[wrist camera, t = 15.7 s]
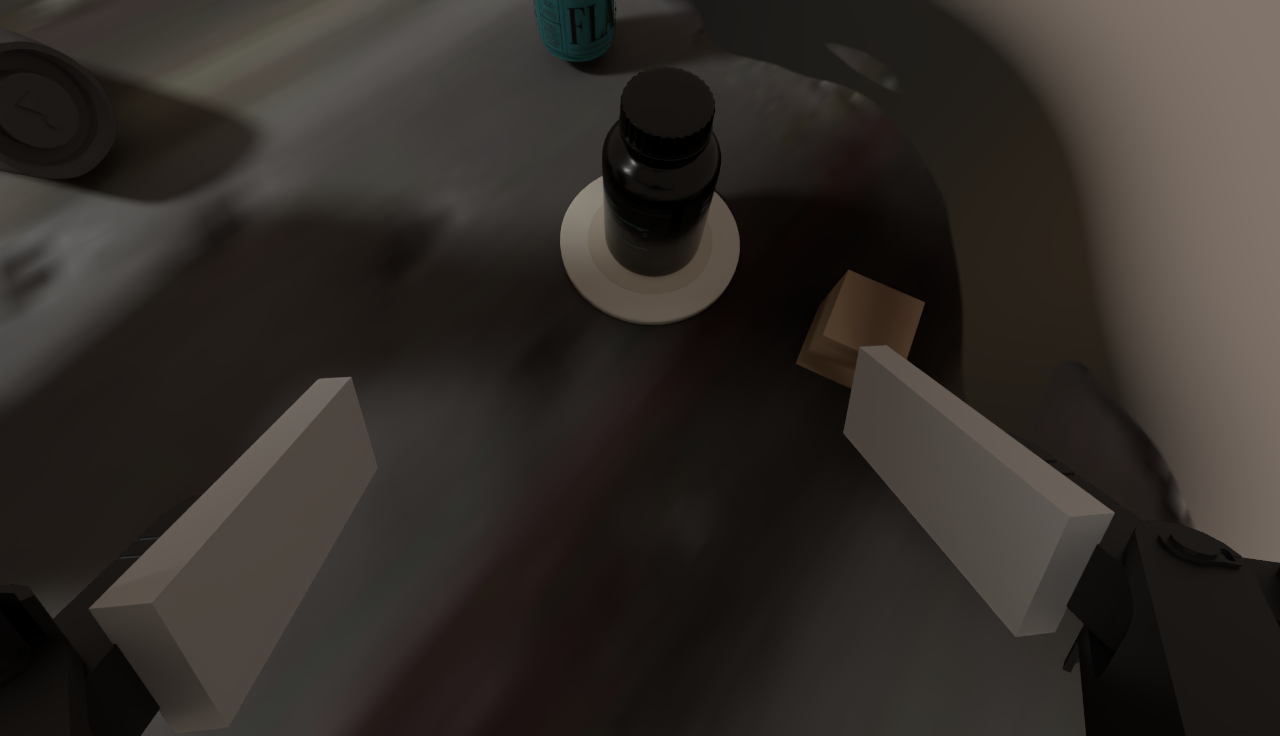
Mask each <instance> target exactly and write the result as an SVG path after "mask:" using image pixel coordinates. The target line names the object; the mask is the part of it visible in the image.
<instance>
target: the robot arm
mask: <svg viewBox="0 0 1280 736" xmlns="http://www.w3.org/2000/svg"><path fill="white" fill-rule="evenodd" d="M844 434H845V436H846V437H847V438H848V439H849V440H850V442H851V443H852V444H853V445H854V446H855V447H856V449H857V450H858V451H859V452H860V453H861V455H862V456H863V457H864V458H865V459H866V460H867V462H868V463H869V464H870V465H871V466H872V468H873V469H874V470H875V471H876V472H877V474H878V475H879V476H880V477H881V478H882V479H883V481H884V482H885V483H886V484H887V485H888V487H889V488H890V489H891V490H892V491H893V492H894V494H895V495H896V496H897V497H898V498H899V500H900V501H901V502H902V503H903V504H904V506H905V507H906V508H907V509H908V510H909V511H910V513H911V514H912V515H913V516H914V517H915V519H916V520H917V521H918V522H919V523H920V524H921V526H922V527H923V528H924V529H925V530H926V532H927V533H928V534H929V535H930V536H931V538H932V539H933V540H934V541H935V542H936V543H937V545H938V546H939V547H940V548H941V549H942V551H943V552H944V553H945V554H946V555H947V556H948V558H949V559H950V560H951V561H952V562H953V564H954V565H955V566H956V567H957V568H958V570H959V571H960V572H961V573H962V574H963V575H964V577H965V578H966V579H967V580H968V581H969V583H970V584H971V585H972V586H973V587H974V588H975V590H976V591H977V592H978V593H979V594H980V596H981V597H982V598H983V599H984V600H985V602H986V603H987V604H988V605H989V606H990V607H991V609H992V610H993V611H994V612H995V613H996V615H997V616H998V617H999V618H1000V619H1001V620H1002V622H1003V623H1004V624H1005V625H1006V626H1007V628H1008V629H1009V630H1010V631H1011V632H1012V634H1013V635H1014V636H1015V637H1020V636H1029V635H1037V634H1046V633H1055V632H1056V630H1057V628H1058V626H1059V624H1060V622H1061V620H1062V618H1063V616H1064V614H1065V612H1066V610H1067V608H1069V609H1070V610H1071V611H1072V612H1073V613H1074V614H1075V615H1076V616H1077V617H1078V618H1079V619H1080V620H1081V621H1082V622H1083V623H1084V626H1083V627H1082V629H1081V631H1080V633H1079V635H1078V637H1077V639H1076V641H1075V643H1074V644H1073V646H1072V648H1071V650H1070V652H1069V654H1068V656H1067V658H1066V659H1065V662H1064V666H1063V670H1065V671H1068V672H1071V671H1072V669H1073V667H1074V665H1075V663H1078V662H1080V672H1081V683H1082V694H1083V705H1084V716H1085V727H1086V736H1280V563H1277V562H1269V561H1263V560H1256V559H1249V558H1242V557H1241V555H1239V554H1238V553H1236V552H1235V551H1233V550H1232V549H1231V548H1230V547H1228V546H1227V545H1225V544H1224V543H1222V542H1220V541H1218V540H1216V539H1215V538H1213V537H1211V536H1209V535H1207V534H1205V533H1203V532H1200V531H1197V530H1195V529H1192V528H1189V527H1186V526H1184V525H1180V524H1175V523H1171V522H1166V521H1144V522H1143V521H1142V520H1141V519H1139V518H1138V517H1136V516H1135V515H1134V514H1132V513H1131V512H1129V511H1128V510H1127V509H1125V508H1124V507H1122V506H1121V505H1120V504H1118V503H1117V502H1115V501H1114V500H1113V499H1111V498H1110V497H1108V496H1107V495H1106V494H1104V493H1103V492H1101V491H1100V490H1099V489H1097V488H1096V487H1094V486H1093V485H1091V484H1090V483H1089V482H1087V481H1086V480H1084V479H1083V478H1082V477H1080V476H1075V474H1074V472H1073V471H1072V470H1070V469H1069V468H1068V467H1066V466H1065V465H1063V464H1062V463H1057V460H1056V459H1055V458H1054V457H1052V456H1051V455H1049V454H1048V453H1047V452H1045V451H1044V450H1042V449H1041V448H1040V447H1038V446H1037V445H1035V444H1033V443H1031V442H1029V441H1027V440H1025V439H1022V438H1020V437H1018V436H1016V435H1014V434H1012V433H1009V432H1004V431H1002V430H1001V429H1000V428H998V427H997V426H996V425H995V424H993V423H992V422H990V421H989V420H988V419H986V418H985V417H984V416H982V415H981V414H980V413H978V412H977V411H975V410H974V409H973V408H971V407H970V406H969V405H967V404H966V403H965V402H963V401H962V400H960V399H959V398H958V397H956V396H955V395H954V394H952V393H951V392H950V391H948V390H947V389H945V388H944V387H943V386H941V385H940V384H939V383H937V382H936V381H935V380H933V379H932V378H930V377H929V376H928V375H926V374H925V373H924V372H922V371H921V370H920V369H918V368H917V367H915V366H914V365H913V364H911V363H910V362H909V361H907V360H906V359H905V358H903V357H902V356H900V355H899V354H898V353H896V352H895V351H894V350H892V349H891V348H890V347H888V346H887V345H882V346H865V347H859V352H858V358H857V363H856V368H855V374H854V379H853V384H852V390H851V395H850V400H849V406H848V411H847V417H846V422H845V427H844ZM377 468H378V467H377V463H376V460H375V456H374V453H373V449H372V446H371V443H370V439H369V436H368V432H367V429H366V425H365V422H364V419H363V415H362V412H361V408H360V405H359V401H358V398H357V395H356V391H355V388H354V384H353V381H352V377H340V378H323V379H318V380H317V381H316V382H315V383H314V384H313V385H312V386H311V387H310V388H309V389H308V390H307V391H306V392H305V393H304V394H303V395H302V396H301V397H300V398H299V399H298V400H297V401H296V402H295V403H294V404H293V405H292V406H291V407H290V408H289V409H288V410H287V411H286V412H285V413H284V414H283V415H282V416H281V417H280V418H279V419H278V420H277V421H276V422H275V423H274V424H273V425H272V426H271V427H270V428H269V429H268V430H267V431H266V432H265V433H264V434H263V435H262V436H261V437H260V438H259V439H258V440H257V441H256V442H255V443H254V444H253V445H252V446H251V447H250V448H249V449H248V450H247V451H246V452H245V453H244V454H243V455H242V456H241V457H240V458H239V459H238V460H237V461H236V462H235V463H234V464H233V465H232V466H231V467H230V468H229V469H228V470H227V471H226V472H225V473H224V474H223V475H222V476H221V477H220V478H219V479H218V480H217V481H216V482H215V483H214V484H213V485H212V486H211V487H210V488H209V489H208V490H207V491H206V492H205V493H204V494H203V495H199V496H192V497H191V498H189V499H187V500H186V501H184V502H183V503H181V504H179V505H178V506H176V507H175V508H173V509H171V510H170V511H168V512H167V513H165V514H163V515H162V516H161V517H160V518H159V519H158V520H157V521H156V522H155V523H153V524H152V525H151V526H150V527H149V528H148V529H147V530H146V531H145V532H144V533H143V534H142V535H141V536H140V537H139V541H137V542H134V543H132V544H131V545H130V546H129V547H128V548H127V549H126V550H125V551H124V552H123V553H122V554H121V555H120V559H119V560H115V561H114V562H112V563H111V564H110V565H109V566H108V567H107V568H106V569H105V570H104V571H103V572H102V573H101V574H100V575H99V576H98V577H97V578H96V579H95V580H94V581H92V582H91V583H90V584H89V585H88V586H87V587H86V588H85V589H84V590H83V591H82V592H81V593H80V594H79V595H78V596H77V597H76V598H75V599H74V600H73V601H71V602H70V603H69V604H68V605H67V606H66V607H65V608H64V609H63V610H62V611H61V612H60V613H59V614H58V615H57V616H56V617H55V618H54V619H52V617H51V616H50V615H49V613H48V612H47V611H46V609H45V608H44V607H43V605H42V604H41V603H40V601H39V600H38V599H37V597H36V596H35V595H34V593H33V592H32V591H31V589H30V588H29V587H27V586H21V585H15V584H11V585H5V586H0V736H141V735H142V733H143V732H144V730H145V729H146V728H147V726H148V725H149V723H150V722H151V720H152V719H153V718H154V716H155V715H156V713H157V712H158V711H160V713H161V714H162V716H163V717H164V719H165V720H166V721H167V723H168V724H169V726H170V727H171V729H172V730H173V732H174V733H175V734H177V733H186V732H195V731H204V730H212V729H221V728H228V727H229V725H230V724H231V722H232V720H233V719H234V717H235V715H236V713H237V712H238V710H239V708H240V706H241V705H242V703H243V701H244V699H245V698H246V696H247V694H248V692H249V691H250V689H251V687H252V686H253V684H254V682H255V680H256V679H257V677H258V675H259V673H260V672H261V670H262V668H263V666H264V665H265V663H266V661H267V659H268V658H269V656H270V654H271V653H272V651H273V649H274V647H275V646H276V644H277V642H278V640H279V639H280V637H281V635H282V633H283V632H284V630H285V628H286V626H287V625H288V623H289V621H290V620H291V618H292V616H293V614H294V613H295V611H296V609H297V607H298V606H299V604H300V602H301V600H302V599H303V597H304V595H305V593H306V592H307V590H308V588H309V587H310V585H311V583H312V581H313V580H314V578H315V576H316V574H317V573H318V571H319V569H320V567H321V566H322V564H323V562H324V560H325V559H326V557H327V555H328V554H329V552H330V550H331V548H332V547H333V545H334V543H335V541H336V540H337V538H338V536H339V534H340V533H341V531H342V529H343V527H344V526H345V524H346V522H347V521H348V519H349V517H350V515H351V514H352V512H353V510H354V508H355V507H356V505H357V503H358V501H359V500H360V498H361V496H362V494H363V493H364V491H365V489H366V488H367V486H368V484H369V482H370V481H371V479H372V477H373V475H374V474H375V472H376V470H377Z"/></svg>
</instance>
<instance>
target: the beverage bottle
mask: <svg viewBox="0 0 1280 736" xmlns="http://www.w3.org/2000/svg"><path fill="white" fill-rule="evenodd" d="M534 2H535V6H536V9H535V11H536V14H537V15H536V17H537V21H538V27H539V33H540V37H541V39H542V41H543V44H544V45H545V47H546V48H547V50H548V51H549V52H550V53H552V54H553V55H555V56H557V57H558V58H561V59H564V60H568V61H574V62H583V61H589V60H592V59H595V58H597V57H599V56H601V55H602V54H604V53H605V52H606V51H607V50H608V48H609V47H610V45H611V43H612V39H613V38H614V37H613V35H614V31H615V30H614V29H615V28H616V25H615V28H614V24H615V23H616V22H615V23H614V20H615V21H616V14H614V0H535V1H534ZM615 12H616V7H615ZM614 15H615V19H614ZM535 19H536V18H535ZM536 25H537V24H536ZM614 36H615V35H614Z"/></svg>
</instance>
